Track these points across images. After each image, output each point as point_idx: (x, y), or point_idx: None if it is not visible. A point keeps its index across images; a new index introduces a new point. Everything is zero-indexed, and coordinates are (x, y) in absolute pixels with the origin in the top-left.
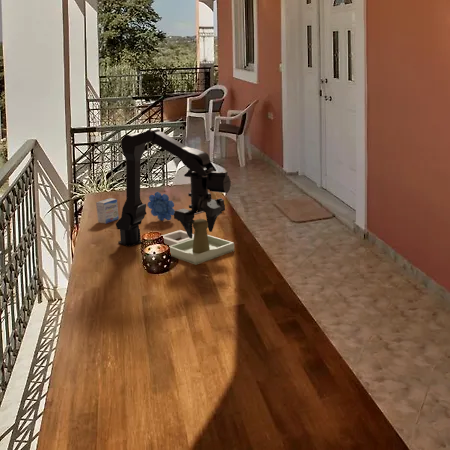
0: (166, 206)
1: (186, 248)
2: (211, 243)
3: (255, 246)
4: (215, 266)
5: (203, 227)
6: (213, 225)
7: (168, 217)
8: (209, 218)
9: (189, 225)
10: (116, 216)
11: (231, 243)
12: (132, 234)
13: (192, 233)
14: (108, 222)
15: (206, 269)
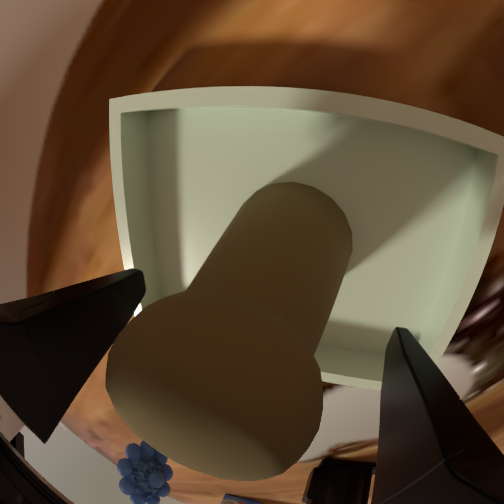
0: (137, 470)
1: None
2: (164, 262)
3: (64, 85)
4: (426, 12)
5: (253, 325)
6: (83, 285)
7: (149, 447)
8: (59, 365)
9: (497, 456)
10: (228, 500)
11: (127, 97)
12: (352, 493)
13: (406, 357)
14: (253, 501)
15: (492, 41)
